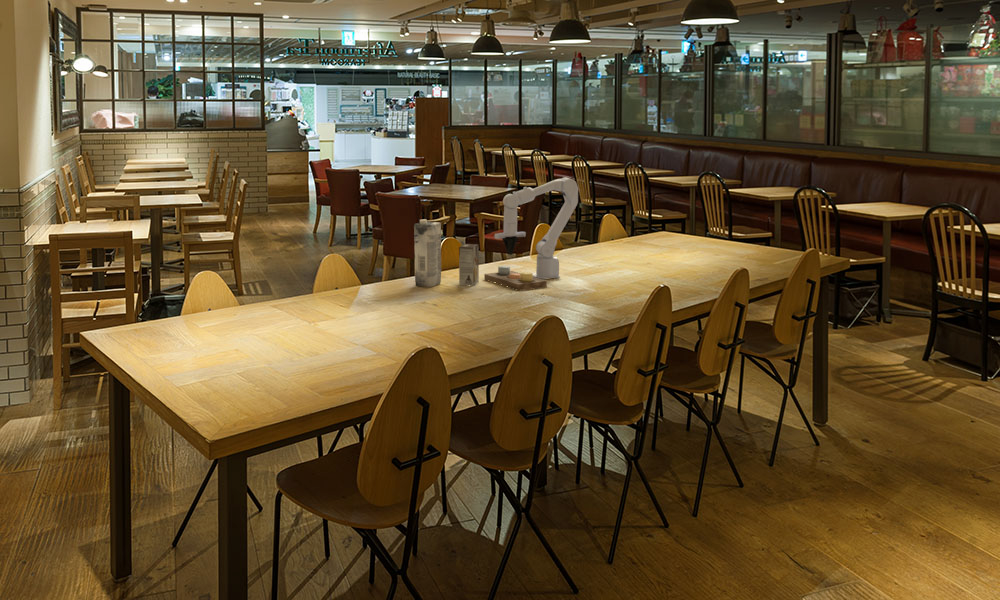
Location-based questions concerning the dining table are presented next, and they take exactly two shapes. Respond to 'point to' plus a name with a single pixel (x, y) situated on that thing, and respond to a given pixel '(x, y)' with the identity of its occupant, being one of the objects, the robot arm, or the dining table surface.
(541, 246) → the robot arm
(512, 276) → the button terracotta
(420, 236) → the juice carton
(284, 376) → the dining table surface
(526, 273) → the button ochre
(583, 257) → the dining table surface
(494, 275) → the board
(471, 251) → the coffee box
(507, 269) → the button blue
